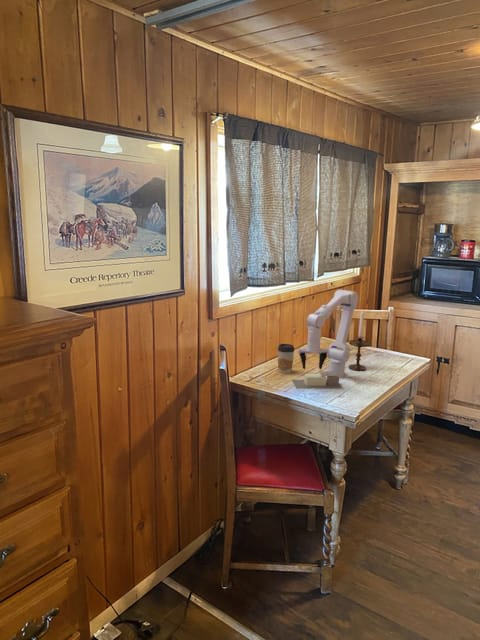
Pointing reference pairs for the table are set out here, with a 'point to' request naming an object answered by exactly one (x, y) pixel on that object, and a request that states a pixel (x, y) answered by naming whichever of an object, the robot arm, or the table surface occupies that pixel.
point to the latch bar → (327, 373)
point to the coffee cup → (285, 358)
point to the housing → (331, 383)
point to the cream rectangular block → (314, 380)
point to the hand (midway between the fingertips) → (312, 368)
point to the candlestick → (359, 345)
